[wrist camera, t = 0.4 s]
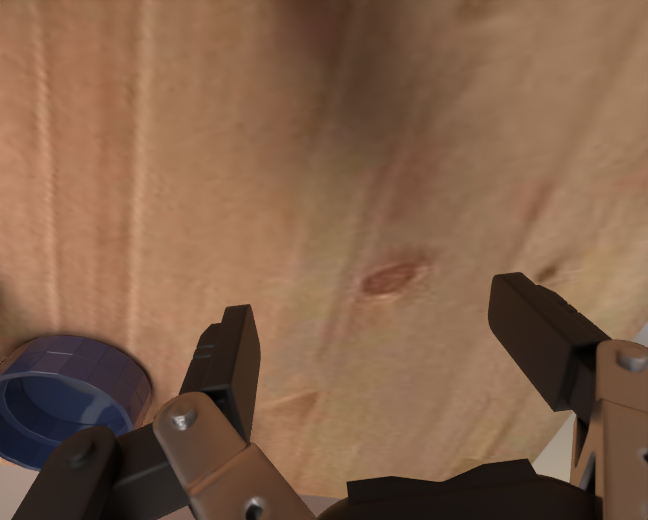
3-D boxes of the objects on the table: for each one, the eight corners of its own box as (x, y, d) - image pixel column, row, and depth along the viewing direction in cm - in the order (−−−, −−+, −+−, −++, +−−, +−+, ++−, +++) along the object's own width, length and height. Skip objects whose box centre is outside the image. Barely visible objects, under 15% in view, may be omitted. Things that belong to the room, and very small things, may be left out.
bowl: (-20, 341, 32) (-69, 384, 28) (126, 322, 32) (99, 361, 28) (48, 435, 38) (16, 483, 34) (170, 419, 39) (154, 464, 34)
